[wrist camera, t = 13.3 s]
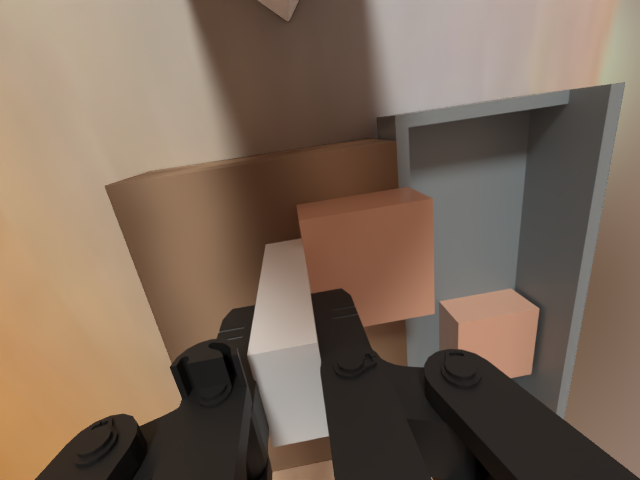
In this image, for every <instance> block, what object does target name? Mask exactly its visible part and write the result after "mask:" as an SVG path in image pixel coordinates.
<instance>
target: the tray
mask: <svg viewBox="0 0 640 480" xmlns="http://www.w3.org/2000/svg"><path fill="white" fill-rule="evenodd" d="M624 87H625V82H623V83H616V84H609V85H601V86H593V87H586V88H578V89H571V90H563V91H556V92H548V93H541V94H533V95H527V96H520V97H513V98H506V99H500V100H493V101H486V102H479V103H473V104H466V105H459V106H452V107H445V108H439V109H432V110H425V111H418V112H412V113H405V114H398V115H391V116H385V117H378V118H377V126H378V139H380V140H388V141H396V144H397V164H398V183H399V188H403V187H410V188H412V189H414V190H416V191H418V192H420V193H422V194H425V195H427V196H429V197H431V198H433V225H434V297H435V314H431V315H425V316H420V317H415V318H409V319H405V322H406V342H407V362H408V366H410V367H424V364H425V362H426V361H427V359H428V357H429V356H431V355H432V354H434V353H435V352H437V351H439V301H444V300H449V299H455V298H460V297H466V296H472V295H477V294H483V293H489V292H494V291H500V290H505V289H513V290H514V291H516V292H517V293H518V294H520V295H521V296H523V297H524V298H525V299H527V300H528V301H530V302H531V303H532V304H534V305H535V306H537V307H538V308H539V317H538V325H537V333H536V341H535V349H534V357H533V364H532V372H531V374H530V375H524V376H519V377H514V378H511V379H512V380H513V381H515V382H516V383H517V384H519V385H520V386H521V387H522V388H524V389H525V390H526V391H528V392H529V393H530V394H531V395H533V396H534V397H535V398H537V399H538V400H539V401H540V402H542V403H543V404H544V405H546V406H547V407H548V408H549V409H551V410H552V411H553V412H555V413H556V414H557V415H558V416H560V417H561V418H562V419H564V416H565V412H566V406H567V401H568V395H569V390H570V384H571V379H572V373H573V368H574V362H575V357H576V351H577V346H578V339H579V334H580V329H581V323H582V318H583V312H584V307H585V301H586V296H587V290H588V284H589V279H590V274H591V269H592V263H593V258H594V252H595V246H596V241H597V236H598V230H599V225H600V219H601V213H602V208H603V202H604V197H605V191H606V186H607V180H608V175H609V169H610V164H611V158H612V153H613V147H614V141H615V136H616V130H617V125H618V120H619V113H620V109H621V103H622V98H623V92H624Z"/></svg>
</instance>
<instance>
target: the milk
mask: <svg viewBox="0 0 640 480" xmlns="http://www.w3.org/2000/svg"><path fill="white" fill-rule="evenodd" d="M257 1H259V2H260V3H262V4H263V5H265V6H266V7H267V8H269V9H270V10H272V11H273V12H275V13H276V14H277V15H279V16H280V17H282V18H283V19H284V20H286V21H289V20H290V18H291V16H292V14H293V12H294V10H295V8H296V6H297V4H298V2H299V0H257Z"/></svg>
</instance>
